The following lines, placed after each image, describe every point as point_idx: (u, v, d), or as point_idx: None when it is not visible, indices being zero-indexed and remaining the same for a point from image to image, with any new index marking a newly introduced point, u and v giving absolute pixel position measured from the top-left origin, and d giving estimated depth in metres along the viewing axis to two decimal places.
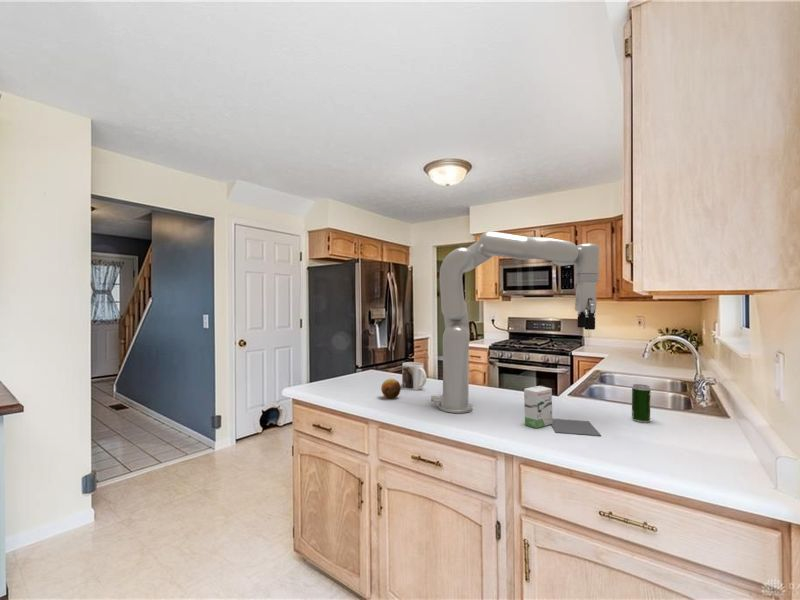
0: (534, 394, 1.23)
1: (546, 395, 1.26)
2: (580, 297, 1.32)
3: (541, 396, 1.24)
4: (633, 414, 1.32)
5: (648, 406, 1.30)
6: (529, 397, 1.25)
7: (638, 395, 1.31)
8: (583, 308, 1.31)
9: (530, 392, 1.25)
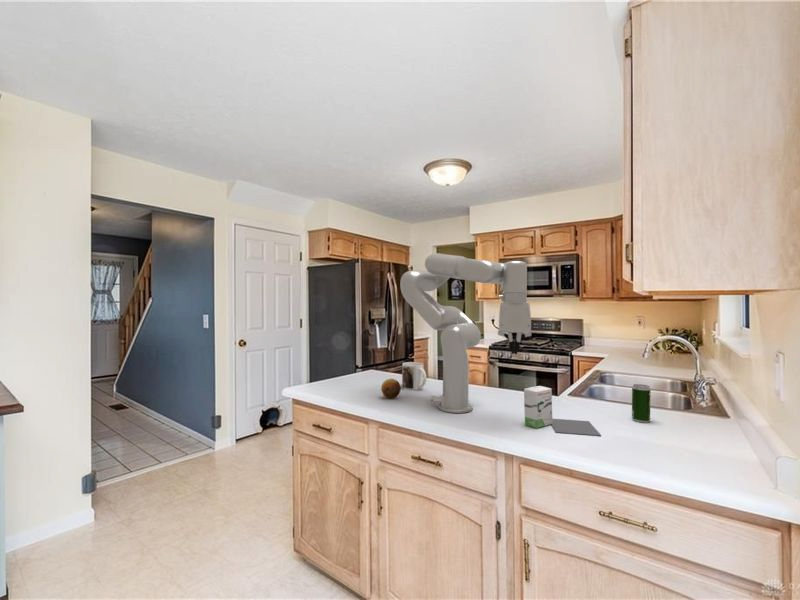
0: (534, 394, 1.23)
1: (546, 395, 1.26)
2: (526, 318, 1.25)
3: (541, 396, 1.24)
4: (633, 414, 1.32)
5: (648, 406, 1.30)
6: (529, 397, 1.25)
7: (638, 395, 1.31)
8: (530, 329, 1.26)
9: (530, 392, 1.25)
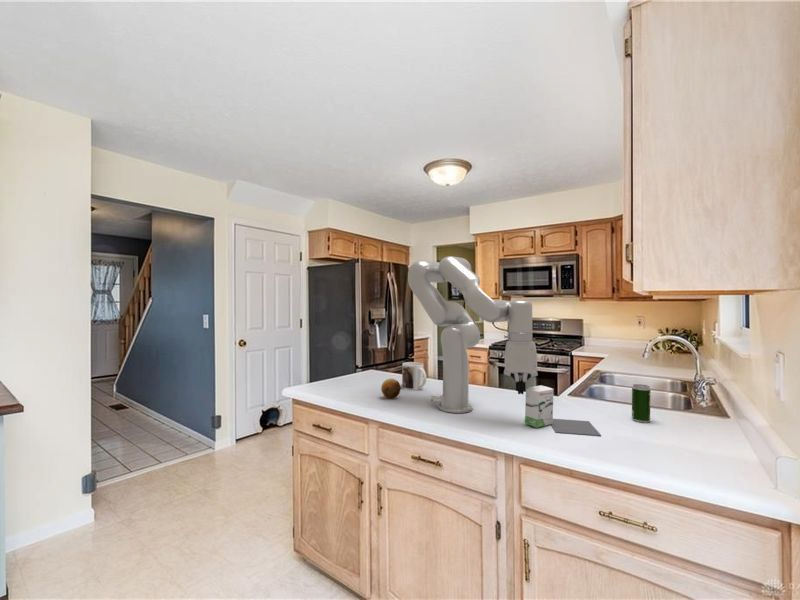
0: (536, 394, 1.23)
1: (548, 395, 1.25)
2: (532, 358, 1.25)
3: (543, 396, 1.24)
4: (633, 414, 1.32)
5: (648, 406, 1.30)
6: (531, 396, 1.25)
7: (638, 395, 1.31)
8: None
9: (532, 391, 1.24)
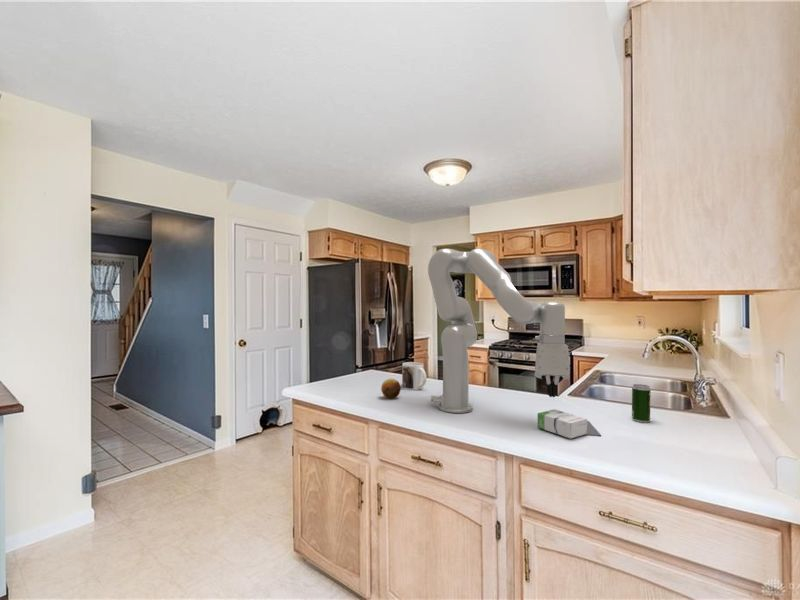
0: (567, 435, 1.14)
1: None
2: (564, 361, 1.23)
3: None
4: (633, 414, 1.32)
5: (648, 406, 1.30)
6: (563, 428, 1.15)
7: (638, 395, 1.31)
8: (569, 372, 1.23)
9: (568, 431, 1.13)
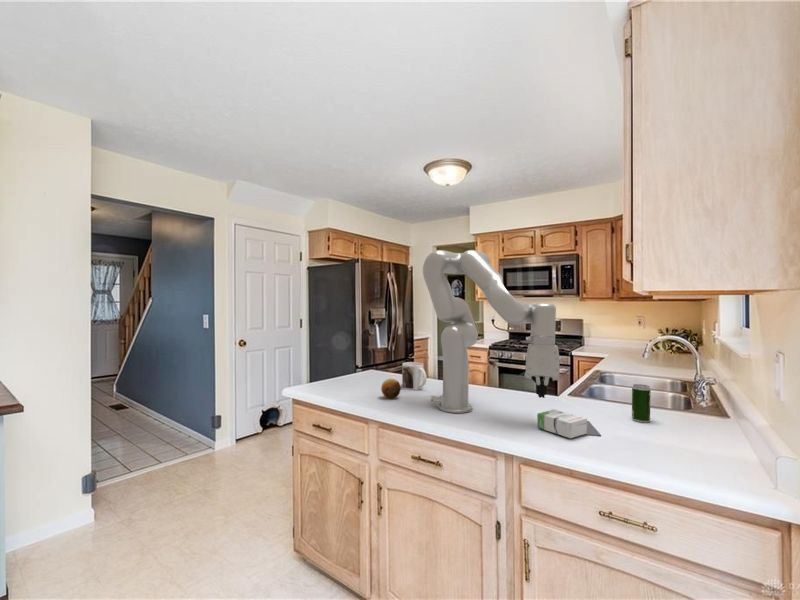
0: (567, 435, 1.14)
1: None
2: (554, 362, 1.24)
3: None
4: (633, 414, 1.32)
5: (648, 406, 1.30)
6: (563, 428, 1.15)
7: (638, 395, 1.31)
8: None
9: (568, 431, 1.13)
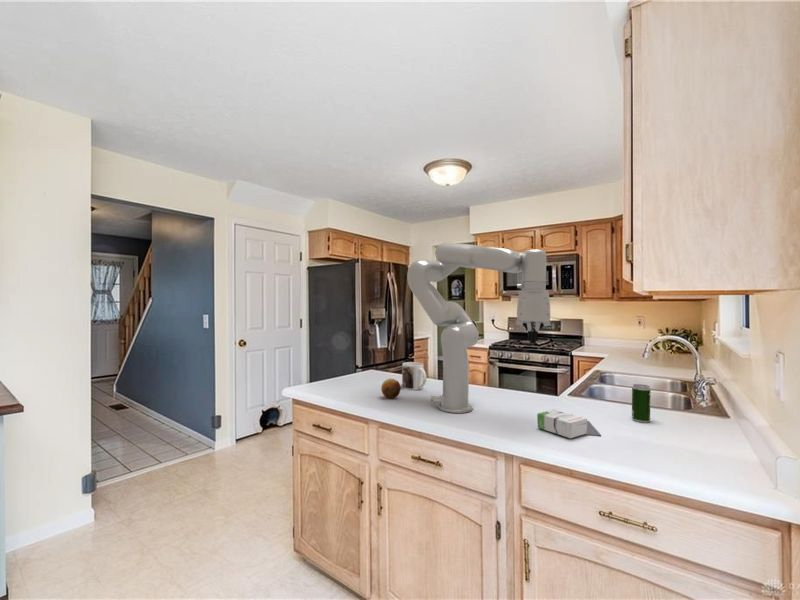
0: (567, 435, 1.14)
1: None
2: (545, 307, 1.24)
3: None
4: (633, 414, 1.32)
5: (648, 406, 1.30)
6: (563, 428, 1.15)
7: (638, 395, 1.31)
8: (549, 318, 1.24)
9: (568, 431, 1.13)
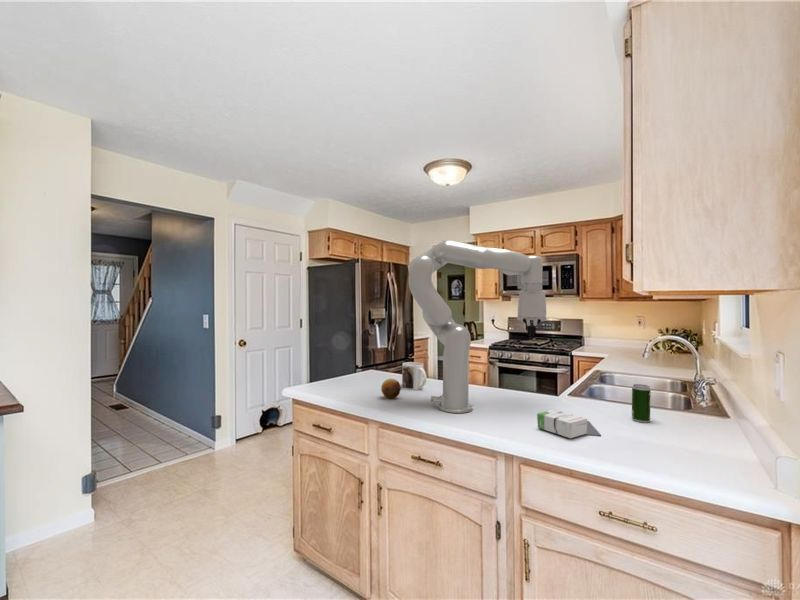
0: (567, 435, 1.14)
1: None
2: (542, 305, 1.45)
3: None
4: (633, 414, 1.32)
5: (648, 406, 1.30)
6: (563, 428, 1.15)
7: (638, 395, 1.31)
8: None
9: (568, 431, 1.13)
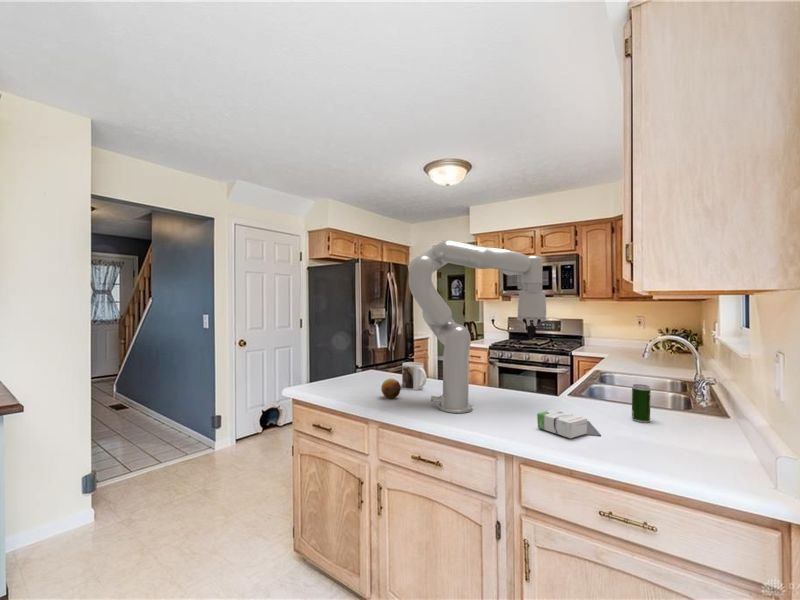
0: (567, 435, 1.14)
1: None
2: (542, 305, 1.45)
3: None
4: (633, 414, 1.32)
5: (648, 406, 1.30)
6: (563, 428, 1.15)
7: (638, 395, 1.31)
8: None
9: (568, 431, 1.13)
